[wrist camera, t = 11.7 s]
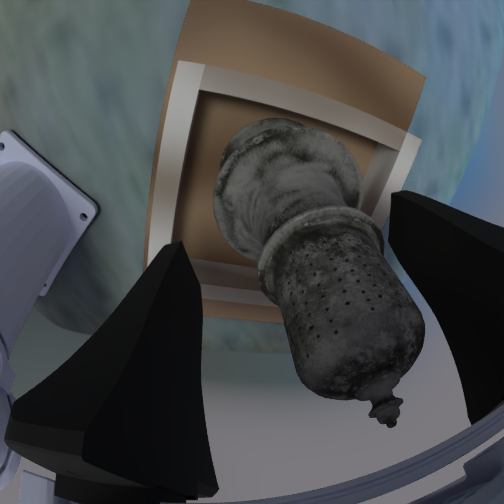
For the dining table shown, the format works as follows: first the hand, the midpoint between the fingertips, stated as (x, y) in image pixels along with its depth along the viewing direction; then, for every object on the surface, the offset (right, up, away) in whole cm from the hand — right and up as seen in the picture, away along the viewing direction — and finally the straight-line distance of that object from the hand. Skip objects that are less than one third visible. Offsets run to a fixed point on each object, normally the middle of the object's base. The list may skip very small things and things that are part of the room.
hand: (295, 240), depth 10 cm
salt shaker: (0, +4, +4) cm, 6 cm away
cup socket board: (-1, +3, +6) cm, 6 cm away
